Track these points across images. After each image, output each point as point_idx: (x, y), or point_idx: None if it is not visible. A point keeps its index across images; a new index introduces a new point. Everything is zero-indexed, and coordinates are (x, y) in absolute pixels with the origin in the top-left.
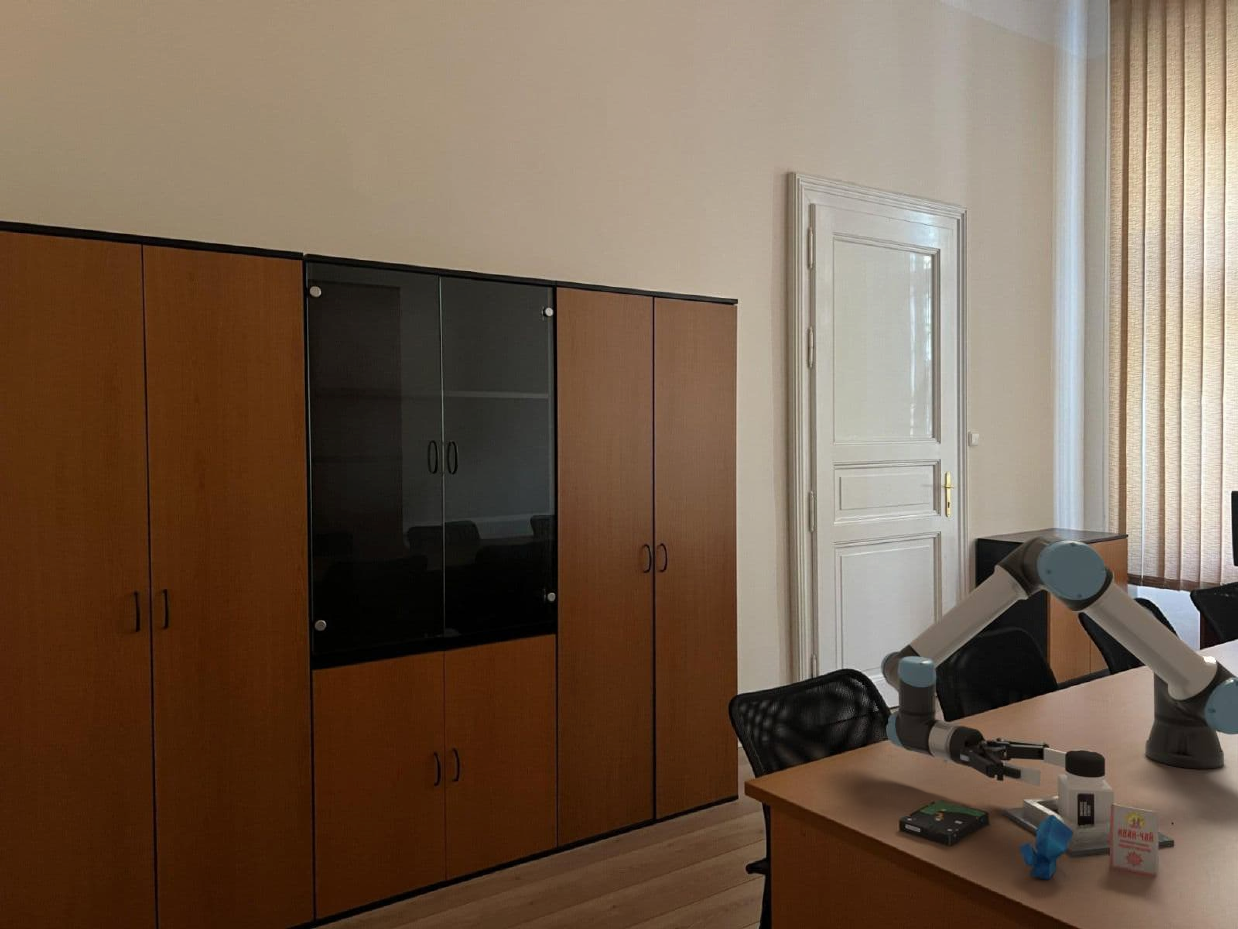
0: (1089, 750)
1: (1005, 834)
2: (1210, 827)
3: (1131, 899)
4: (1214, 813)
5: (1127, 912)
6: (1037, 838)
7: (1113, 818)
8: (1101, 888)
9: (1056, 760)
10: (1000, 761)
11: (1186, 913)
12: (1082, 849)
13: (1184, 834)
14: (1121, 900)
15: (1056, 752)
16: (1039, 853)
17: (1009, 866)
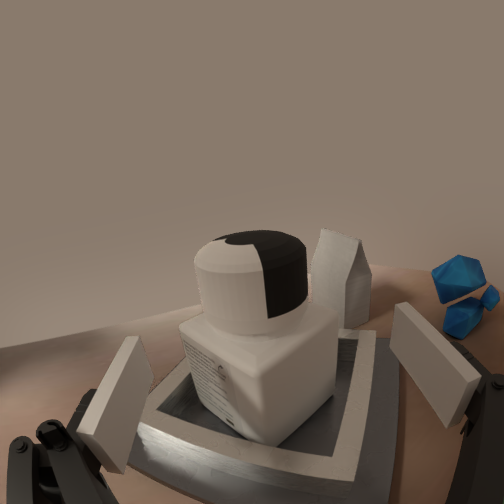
0: (213, 244)
1: (456, 435)
2: (116, 334)
3: (402, 284)
4: (62, 343)
5: (422, 275)
6: (481, 279)
7: (362, 257)
8: (417, 297)
9: (128, 416)
10: (490, 398)
11: (373, 268)
12: (378, 339)
13: (163, 338)
14: (413, 284)
15: (114, 391)
16: (471, 307)
17: (498, 342)
